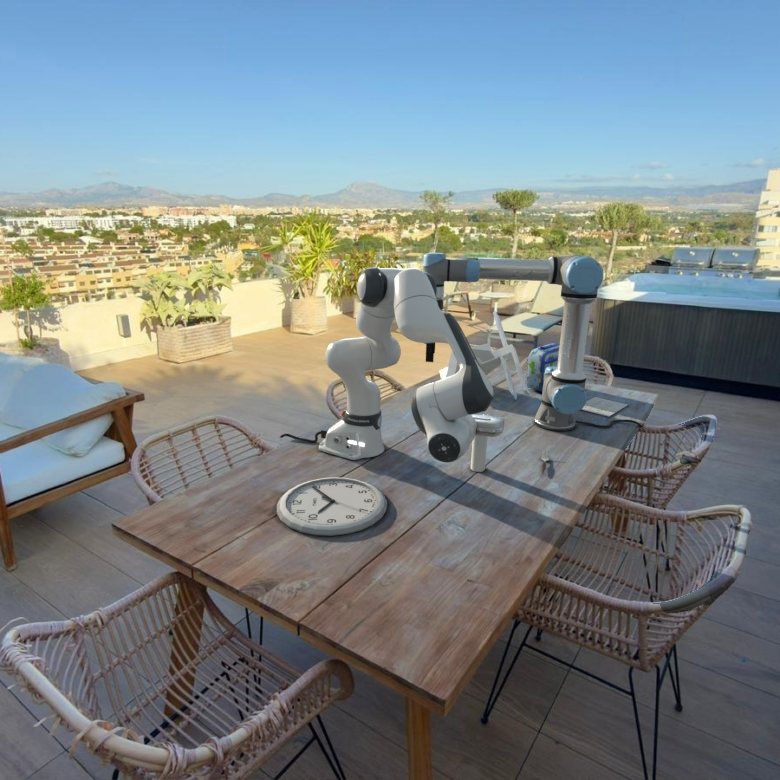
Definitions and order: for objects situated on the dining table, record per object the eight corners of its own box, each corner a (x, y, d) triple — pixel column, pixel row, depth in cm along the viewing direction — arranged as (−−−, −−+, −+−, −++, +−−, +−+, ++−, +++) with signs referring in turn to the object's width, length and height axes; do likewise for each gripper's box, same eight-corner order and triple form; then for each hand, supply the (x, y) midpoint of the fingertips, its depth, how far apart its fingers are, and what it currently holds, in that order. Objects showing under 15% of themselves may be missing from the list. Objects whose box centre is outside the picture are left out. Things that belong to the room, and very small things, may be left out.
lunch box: (542, 395, 240) (547, 351, 233) (522, 390, 247) (526, 347, 241) (569, 384, 257) (575, 343, 251) (550, 380, 264) (554, 339, 258)
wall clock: (392, 527, 129) (268, 531, 127) (391, 533, 130) (269, 537, 127) (383, 473, 158) (282, 475, 155) (383, 478, 158) (282, 480, 156)
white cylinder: (472, 472, 164) (475, 424, 159) (469, 465, 168) (472, 419, 163) (486, 471, 164) (489, 424, 159) (483, 465, 168) (486, 419, 164)
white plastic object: (461, 429, 252) (437, 405, 227) (444, 352, 274) (420, 323, 250) (535, 404, 240) (518, 377, 215) (510, 326, 262) (492, 293, 237)
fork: (538, 474, 162) (538, 468, 162) (542, 454, 177) (542, 449, 176) (546, 475, 162) (547, 470, 161) (550, 455, 176) (550, 450, 175)
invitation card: (608, 416, 214) (573, 407, 224) (608, 416, 214) (573, 408, 224) (628, 404, 229) (594, 396, 238) (628, 405, 229) (594, 397, 238)
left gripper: (502, 420, 123) (508, 407, 136) (418, 412, 129) (432, 400, 142) (500, 446, 125) (507, 430, 137) (417, 436, 131) (431, 422, 144)
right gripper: (424, 293, 195) (422, 349, 202) (419, 302, 172) (417, 365, 178) (444, 294, 195) (441, 350, 201) (442, 303, 171) (439, 366, 177)
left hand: (468, 415), depth 140 cm, fingers open, 8 cm apart
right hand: (430, 357), depth 190 cm, fingers open, 13 cm apart
